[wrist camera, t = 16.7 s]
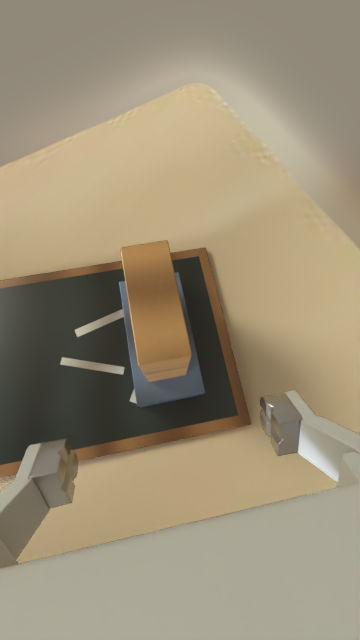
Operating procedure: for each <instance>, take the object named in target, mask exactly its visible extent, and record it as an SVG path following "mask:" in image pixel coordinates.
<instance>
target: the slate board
mask: <svg viewBox="0 0 360 640" xmlns="http://www.w3.org/2000/svg"><path fill="white" fill-rule="evenodd" d="M170 254H171V259H172V263H173V268H174V272H175V273H176V272H179V276H180V280H181V285H182V289H183V294H184V298H185V303H186V308H187V312H188V317H189V321H190V326H191V330H192V335H193V339H194V344H195V348H196V353H197V357H198V362H199V366H200V371H201V375H202V380H203V385H204V389H205V393H204V394H202V395H199V396H194V397H189V398H184V399H179V400H174V401H170V402H165V403H160V404H155V405H150V406H145V407H138V406H137V403H136V396H135V389H134V382H133V375H132V368H131V361H130V355H129V348H128V341H127V334H126V327H125V320H124V313H123V306H122V300H121V293H120V286H119V282H122V281H125V277H124V270H123V264H122V261H118V262H112V263H106V264H100V265H94V266H87V267H81V268H75V269H69V270H62V271H56V272H50V273H44V274H38V275H31V276H25V277H19V278H13V279H6V280H0V478H1V477H5V476H10V475H15V474H17V473H18V470H19V468H20V465H21V463H22V460H23V457H24V455H25V452H26V450H27V448H28V447H29V446H30V445H33V444H38V443H43V442H48V441H53V440H58V439H64V438H69V439H70V441H71V443H72V446H71V449H72V450H73V451H75V452H76V455H77V459H78V461H81V460H85V459H90V458H95V457H99V456H104V455H109V454H113V453H118V452H123V451H128V450H132V449H137V448H142V447H146V446H151V445H156V444H160V443H165V442H170V441H175V440H179V439H184V438H189V437H193V436H198V435H203V434H207V433H212V432H217V431H221V430H226V429H231V428H236V427H240V426H245V425H250V424H251V422H250V418H249V414H248V410H247V406H246V402H245V399H244V395H243V391H242V387H241V383H240V379H239V375H238V372H237V368H236V364H235V360H234V356H233V352H232V348H231V344H230V341H229V337H228V333H227V329H226V325H225V321H224V317H223V313H222V310H221V306H220V302H219V298H218V294H217V290H216V286H215V282H214V279H213V275H212V271H211V267H210V263H209V259H208V255H207V251H206V248H199V249H193V250H187V251H181V252H174V253H170Z"/></svg>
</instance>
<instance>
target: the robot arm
mask: <svg viewBox="0 0 360 640" xmlns="http://www.w3.org/2000/svg"><path fill="white" fill-rule="evenodd" d="M260 405H261V407H262V410H261V412H260V419H261V424H262V427H263V429H264V431H265V433H266V435H268V436H270V437H271V444H272V446H273V448H274V450H275V452H276V454H277V456H281V455H286V454H292V453H297V452H298V454H299V455H301V456H302V457H304V458H305V459H306V460H308V461H309V462H310V463H312V464H313V465H314V466H316V467H317V468H319V469H320V470H321V471H323V472H324V473H325V474H327V475H328V476H329V477H331V478H332V479H334V480H335V481H336V482H337V487H336V488H333V489H329V490H325V491H320V492H316V493H312V494H308V495H304V496H299V497H295V498H291V499H287V500H283V501H279V502H274V503H270V504H266V505H262V506H258V507H254V508H250V509H246V510H241V511H237V512H233V513H229V514H225V515H221V516H217V517H212V518H208V519H204V520H200V521H196V522H192V523H187V524H183V525H179V526H175V527H171V528H166V529H162V530H158V531H154V532H150V533H145V534H141V535H137V536H133V537H129V538H125V539H120V540H116V541H112V542H108V543H104V544H100V545H95V546H91V547H87V548H83V549H79V550H74V551H70V552H66V553H62V554H58V555H54V556H49V557H45V558H41V559H37V560H33V561H29V562H24V563H20V564H18V562H17V561H16V559H17V558H18V556H19V555H20V553H21V552H22V550H23V549H24V547H25V546H26V544H27V543H28V541H29V540H30V538H31V537H32V535H33V534H34V532H35V531H36V530H37V528H38V527H39V525H40V524H41V522H42V521H43V519H44V518H45V516H46V515H47V513H48V512H49V510H50V508H54V507H58V506H62V505H65V504H69V503H72V500H73V495H74V489H75V485H74V483H73V480H74V479H75V478H76V476H77V473H78V459H77V455H76V452H75V451H73V450H72V449H71V446H72V443H71V441H70V439H69V438H64V439H58V440H53V441H48V442H43V443H38V444H33V445H30V446H29V447H28V448H27V450H26V452H25V455H24V457H23V460H22V463H21V465H20V468H19V470H18V473H17V475H16V478H15V480H14V482H13V483H10V484H9V485H8V486H7V487H6V488H5V489H4V490H3V491H2V492H1V493H0V640H360V435H359V434H357V433H355V432H353V431H351V430H349V429H347V428H344V427H342V426H340V425H338V424H336V423H334V422H332V421H330V420H328V419H326V418H324V417H322V416H316V415H315V414H314V412H313V411H312V410H311V409H310V407H309V406H308V405H307V404H306V402H305V401H304V400H303V399H302V397H301V396H300V395H299V394H298V392H297V391H295V390H292V391H287V392H283V393H278V394H274V395H269V396H265V397H261V399H260Z"/></svg>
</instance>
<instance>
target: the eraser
mask: <svg viewBox="0 0 360 640" xmlns="http://www.w3.org/2000/svg"><path fill="white" fill-rule="evenodd" d="M120 251H121V257H122V264H123V270H124V277H125V281H122V282H119V286H120V293H121V300H122V306H123V313H124V320H125V327H126V334H127V341H128V348H129V355H130V361H131V368H132V375H133V382H134V389H135V396H136V403H137V406H138V407H145V406H150V405H155V404H160V403H165V402H170V401H174V400H179V399H184V398H189V397H194V396H199V395H202V394H204V393H205V389H204V385H203V380H202V375H201V371H200V366H199V362H198V357H197V353H196V348H195V344H194V339H193V335H192V330H191V326H190V321H189V317H188V312H187V308H186V303H185V298H184V294H183V289H182V285H181V280H180V276H179V272H176V273H175V272H174V268H173V263H172V259H171V254H170V249H169V245H168V241H167V240H166V241H159V242H153V243H146V244H140V245H134V246H127V247H121V248H120Z"/></svg>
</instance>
